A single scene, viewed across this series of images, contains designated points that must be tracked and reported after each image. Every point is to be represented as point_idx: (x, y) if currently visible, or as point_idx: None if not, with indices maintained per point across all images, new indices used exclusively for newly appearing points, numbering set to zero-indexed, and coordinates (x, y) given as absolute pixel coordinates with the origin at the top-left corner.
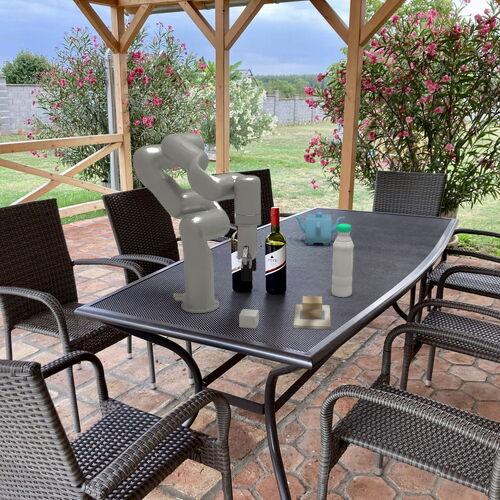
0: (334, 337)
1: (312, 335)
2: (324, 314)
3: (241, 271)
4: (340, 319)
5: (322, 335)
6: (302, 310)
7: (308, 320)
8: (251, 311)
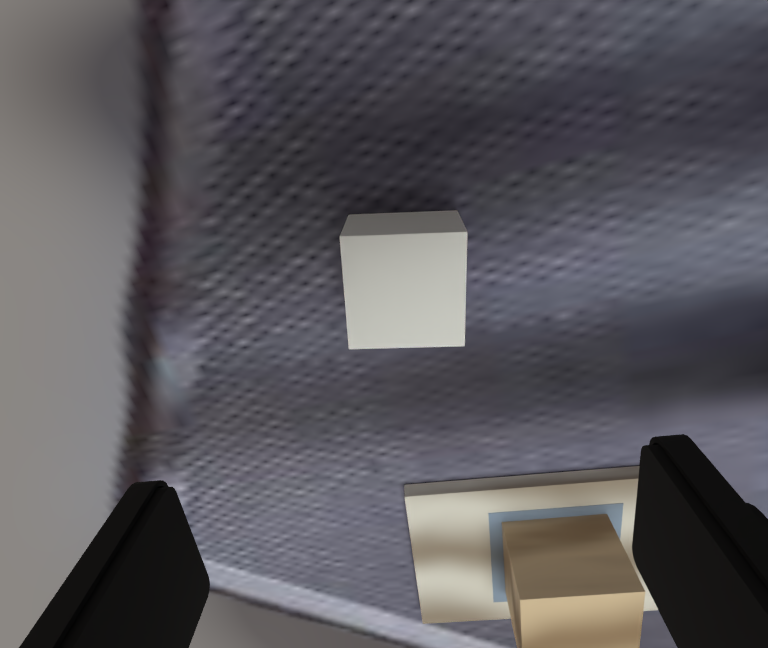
0: (348, 622)
1: (344, 557)
2: None
3: (49, 616)
4: None
5: (355, 588)
6: (510, 558)
7: (475, 547)
8: (430, 305)
